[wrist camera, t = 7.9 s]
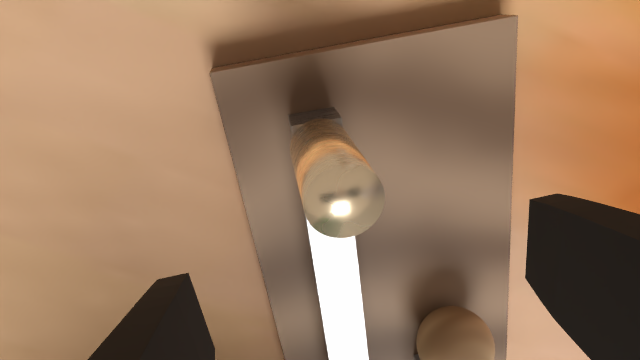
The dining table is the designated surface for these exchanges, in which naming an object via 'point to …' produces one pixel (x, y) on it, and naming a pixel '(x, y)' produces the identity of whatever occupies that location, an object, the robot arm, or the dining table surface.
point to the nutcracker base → (387, 176)
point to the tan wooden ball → (454, 336)
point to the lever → (335, 222)
